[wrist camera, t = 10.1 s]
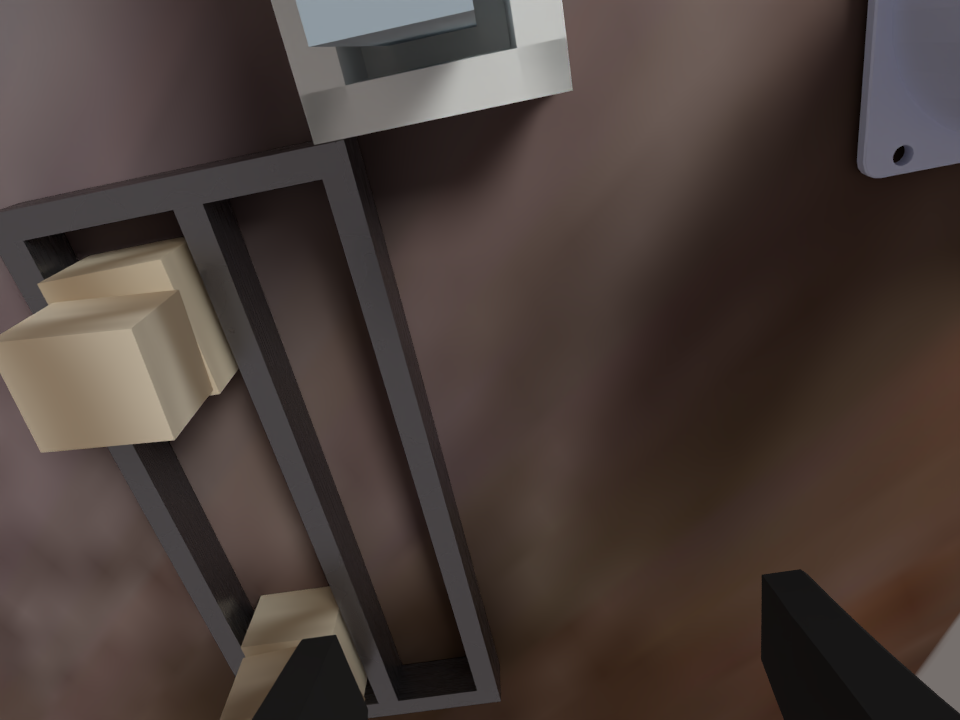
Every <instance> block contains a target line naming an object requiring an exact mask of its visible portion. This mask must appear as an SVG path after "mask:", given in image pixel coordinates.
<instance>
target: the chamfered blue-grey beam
mask: <svg viewBox="0 0 960 720" xmlns="http://www.w3.org/2000/svg"><path fill="white" fill-rule="evenodd" d="M296 4H297V7H298V11H299V14H300V18H301V21H302V25H303V28H304V32H305V35H306V39H307V42H308V46H309V47H346V46H391V45H395V44H400V43H404V42H408V41H413V40H417V39H422V38H426V37H431V36H435V35H440V34H444V33H449V32H453V31H458V30H462V29H467V28H471V27H476V26H477V24H476V18H475V12H474V6H473V0H296Z"/></svg>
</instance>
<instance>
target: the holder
mask: <svg viewBox="0 0 960 720" xmlns="http://www.w3.org/2000/svg"><path fill="white" fill-rule="evenodd" d="M271 3H272V7H273V10H274V13H275V16H276V20H277V23H278V26H279V30H280V33H281V36H282V40H283V43H284V46H285V50H286V53H287V56H288V60H289V63H290V66H291V70H292V73H293V76H294V80H295V83H296V86H297V90H298V93H299V96H300V99H301V103H302V106H303V109H304V113H305V116H306V119H307V123H308V126H309V129H310V133H311V136H312V139H313V143H314V145H316V144H321V143H326V142H331V141H335V140H340V139H345V138H350V137H354V136H359V135H364V134H368V133H373V132H378V131H383V130H387V129H392V128H397V127H402V126H406V125H411V124H416V123H421V122H425V121H430V120H435V119H440V118H444V117H449V116H454V115H459V114H463V113H468V112H473V111H478V110H482V109H487V108H492V107H497V106H501V105H506V104H511V103H515V102H520V101H525V100H530V99H534V98H539V97H544V96H549V95H553V94H558V93H563V92H568V91H572V90H573V89H572V80H571V72H570V64H569V55H568V47H567V39H566V30H565V22H564V14H563V5H562V0H473V6H474V12H475V18H476V24H477V26H476V27H471V28H467V29H462V30H458V31H453V32H449V33H444V34H440V35H435V36H431V37H426V38H422V39H417V40H413V41H408V42H404V43H400V44H395V45H391V46H346V47H309V46H308V42H307V39H306V35H305V32H304V28H303V25H302V21H301V18H300V14H299V11H298V7H297V4H296V0H271Z"/></svg>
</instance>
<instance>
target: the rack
mask: <svg viewBox="0 0 960 720" xmlns="http://www.w3.org/2000/svg"><path fill="white" fill-rule="evenodd" d="M321 179H322V180H323V183H324V186H325V190H326V193H327V196H328V199H329V203H330V206H331V209H332V213H333V216H334V219H335V223H336V226H337V229H338V233H339V236H340V239H341V242H342V246H343V249H344V252H345V256H346V259H347V262H348V266H349V269H350V272H351V275H352V279H353V282H354V285H355V289H356V292H357V295H358V299H359V302H360V305H361V309H362V312H363V315H364V318H365V322H366V325H367V328H368V332H369V335H370V338H371V342H372V345H373V348H374V351H375V355H376V358H377V361H378V365H379V368H380V371H381V375H382V378H383V381H384V385H385V388H386V391H387V394H388V398H389V401H390V404H391V408H392V411H393V414H394V418H395V421H396V424H397V427H398V431H399V434H400V437H401V441H402V444H403V447H404V451H405V454H406V457H407V461H408V464H409V467H410V470H411V474H412V477H413V480H414V484H415V487H416V490H417V494H418V497H419V500H420V503H421V507H422V510H423V513H424V517H425V520H426V523H427V527H428V530H429V533H430V537H431V540H432V543H433V546H434V550H435V553H436V556H437V560H438V563H439V566H440V570H441V573H442V576H443V579H444V583H445V586H446V589H447V593H448V596H449V599H450V603H451V606H452V609H453V613H454V616H455V619H456V622H457V626H458V629H459V632H460V636H461V639H462V642H463V646H464V649H465V652H466V655H467V657H461V658H454V659H446V660H439V661H432V662H424V663H417V664H409V665H402V663H401V660H400V657H399V655H398V652H397V649H396V647H395V644H394V641H393V639H392V636H391V633H390V631H389V628H388V625H387V623H386V620H385V617H384V614H383V612H382V609H381V606H380V604H379V601H378V598H377V596H376V593H375V590H374V588H373V585H372V582H371V580H370V577H369V574H368V572H367V569H366V566H365V564H364V561H363V558H362V556H361V553H360V550H359V548H358V545H357V542H356V540H355V537H354V534H353V532H352V529H351V526H350V524H349V521H348V518H347V516H346V513H345V510H344V507H343V505H342V502H341V499H340V497H339V494H338V491H337V489H336V486H335V483H334V481H333V478H332V475H331V473H330V470H329V467H328V465H327V462H326V459H325V457H324V454H323V451H322V449H321V446H320V443H319V441H318V438H317V435H316V433H315V430H314V427H313V425H312V422H311V419H310V417H309V414H308V411H307V409H306V406H305V403H304V400H303V398H302V395H301V392H300V390H299V387H298V384H297V382H296V379H295V376H294V374H293V371H292V368H291V366H290V363H289V360H288V358H287V355H286V352H285V350H284V347H283V344H282V342H281V339H280V336H279V334H278V331H277V328H276V326H275V323H274V320H273V318H272V315H271V312H270V310H269V307H268V304H267V302H266V299H265V296H264V293H263V291H262V288H261V285H260V283H259V280H258V277H257V275H256V272H255V269H254V267H253V264H252V261H251V259H250V256H249V253H248V251H247V248H246V245H245V243H244V240H243V237H242V235H241V232H240V229H239V227H238V224H237V221H236V219H235V216H234V213H233V211H232V208H231V205H230V203H229V200H228V199H229V198H234V197H239V196H243V195H248V194H253V193H258V192H263V191H268V190H273V189H277V188H282V187H287V186H292V185H297V184H302V183H307V182H311V181H316V180H321ZM170 210H173V211H174V213H175V216H176V218H177V220H178V223H179V225H180V228H181V230H182V232H183V235H184V237H185V240H186V242H187V244H188V247H189V249H190V252H191V254H192V256H193V259H194V261H195V264H196V266H197V268H198V271H199V273H200V276H201V278H202V280H203V283H204V285H205V288H206V290H207V292H208V295H209V297H210V300H211V302H212V304H213V307H214V309H215V312H216V314H217V317H218V319H219V321H220V324H221V326H222V329H223V331H224V333H225V336H226V338H227V341H228V343H229V345H230V348H231V350H232V353H233V355H234V357H235V360H236V362H237V365H238V367H239V369H240V372H241V374H242V377H243V379H244V381H245V384H246V386H247V389H248V391H249V393H250V396H251V398H252V401H253V403H254V405H255V408H256V410H257V413H258V415H259V417H260V420H261V422H262V425H263V427H264V429H265V432H266V434H267V437H268V439H269V441H270V444H271V446H272V449H273V451H274V453H275V456H276V458H277V461H278V463H279V465H280V468H281V470H282V473H283V475H284V477H285V480H286V482H287V485H288V487H289V490H290V492H291V494H292V497H293V499H294V502H295V504H296V506H297V509H298V511H299V514H300V516H301V518H302V521H303V523H304V526H305V528H306V530H307V533H308V535H309V538H310V540H311V542H312V545H313V547H314V550H315V552H316V554H317V557H318V559H319V562H320V564H321V566H322V569H323V571H324V574H325V576H326V578H327V581H328V583H329V586H330V588H331V590H332V593H333V595H334V598H335V600H336V602H337V605H338V607H339V610H340V612H341V614H342V617H343V619H344V622H345V624H346V626H347V629H348V631H349V634H350V636H351V638H352V641H353V643H354V646H355V648H356V650H357V653H358V655H359V658H360V660H361V663H362V665H363V667H364V670H365V672H366V675H367V682H366V687H365V693H364V697H365V703H366V706H367V708H368V718H374V717H381V716H389V715H397V714H405V713H413V712H421V711H428V710H436V709H444V708H452V707H460V706H468V705H475V704H483V703H491V702H499V701H501V689H500V665H499V661H498V657H497V654H496V650H495V646H494V642H493V639H492V635H491V631H490V628H489V624H488V620H487V617H486V613H485V609H484V606H483V602H482V598H481V594H480V591H479V587H478V583H477V580H476V576H475V572H474V569H473V565H472V561H471V557H470V554H469V550H468V546H467V543H466V539H465V535H464V532H463V528H462V524H461V521H460V517H459V513H458V509H457V506H456V502H455V498H454V495H453V491H452V487H451V484H450V480H449V476H448V472H447V469H446V465H445V461H444V458H443V454H442V450H441V447H440V443H439V439H438V435H437V432H436V428H435V424H434V421H433V417H432V413H431V410H430V406H429V402H428V399H427V395H426V391H425V387H424V384H423V380H422V376H421V373H420V369H419V365H418V362H417V358H416V354H415V350H414V347H413V343H412V339H411V336H410V332H409V328H408V325H407V321H406V317H405V314H404V310H403V306H402V302H401V299H400V295H399V291H398V288H397V284H396V280H395V277H394V273H393V269H392V265H391V262H390V258H389V254H388V251H387V247H386V243H385V240H384V236H383V232H382V228H381V225H380V221H379V217H378V214H377V210H376V206H375V203H374V199H373V195H372V192H371V188H370V184H369V180H368V177H367V173H366V169H365V166H364V162H363V158H362V155H361V151H360V147H359V143H358V140H357V136H354V137H350V138H345V139H340V140H335V141H331V142H326V143H321V144H316V145H314V143H313V141H310V142H305V143H301V144H296V145H291V146H286V147H282V148H277V149H272V150H268V151H263V152H258V153H253V154H249V155H244V156H239V157H234V158H230V159H225V160H220V161H215V162H211V163H206V164H201V165H197V166H192V167H187V168H182V169H178V170H173V171H168V172H163V173H159V174H154V175H149V176H145V177H140V178H135V179H130V180H126V181H121V182H116V183H111V184H107V185H102V186H97V187H93V188H88V189H83V190H78V191H74V192H69V193H64V194H59V195H55V196H50V197H45V198H41V199H36V200H31V201H26V202H22V203H18V204H15V205H12V206H9V207H6V208H3V209H0V256H1V258H2V259H3V261H4V263H5V265H6V266H7V268H8V270H9V272H10V274H11V275H12V277H13V279H14V281H15V283H16V284H17V286H18V288H19V290H20V292H21V293H22V295H23V297H24V299H25V301H26V302H27V304H28V306H29V308H30V309H31V311H32V313H33V314H35V313H37V312H38V311H40V310H42V309H43V308H45V307H46V306H48V303H47V301H46V300H45V298H44V296H43V294H42V292H41V290H40V289H39V287H38V285H37V284H38V283H40V282H41V281H43V280H45V279H47V278H49V277H51V276H53V275H54V274H56V273H58V272H60V271H62V270H64V269H65V268H67V267H69V266H71V265H73V264H75V263H77V262H78V261H77V259H76V257H75V255H74V253H73V251H72V249H71V247H70V245H69V243H68V241H67V239H66V237H65V235H64V232H68V231H73V230H78V229H83V228H88V227H93V226H98V225H102V224H107V223H112V222H117V221H122V220H127V219H132V218H136V217H141V216H146V215H151V214H156V213H161V212H166V211H170ZM107 447H108V449H109V451H110V453H111V455H112V456H113V458H114V460H115V462H116V464H117V465H118V467H119V469H120V471H121V473H122V474H123V476H124V478H125V480H126V481H127V483H128V485H129V487H130V489H131V490H132V492H133V494H134V496H135V498H136V499H137V501H138V503H139V505H140V507H141V508H142V510H143V512H144V514H145V516H146V517H147V519H148V521H149V523H150V524H151V526H152V528H153V530H154V532H155V533H156V535H157V537H158V539H159V541H160V542H161V544H162V546H163V548H164V550H165V551H166V553H167V555H168V557H169V558H170V560H171V562H172V564H173V566H174V567H175V569H176V571H177V573H178V575H179V576H180V578H181V580H182V582H183V584H184V585H185V587H186V589H187V591H188V593H189V594H190V596H191V598H192V600H193V601H194V603H195V605H196V607H197V609H198V610H199V612H200V614H201V616H202V618H203V619H204V621H205V623H206V625H207V627H208V628H209V630H210V632H211V634H212V636H213V637H214V639H215V641H216V643H217V644H218V646H219V648H220V650H221V652H222V653H223V655H224V657H225V659H226V661H227V662H228V664H229V666H230V668H231V670H232V671H233V673H234V675H235V677H236V675H237V672H238V670H239V667H240V665H241V662H242V659H243V658H245V655H244V653H243V651H242V649H241V645H242V643H243V640H244V638H245V635H246V633H247V630H248V628H249V625H250V622H251V620H252V617H253V615H254V611H253V609H252V607H251V605H250V603H249V601H248V599H247V597H246V595H245V593H244V591H243V589H242V587H241V585H240V583H239V581H238V579H237V577H236V575H235V573H234V571H233V569H232V567H231V565H230V563H229V561H228V559H227V557H226V555H225V553H224V551H223V549H222V547H221V545H220V543H219V541H218V539H217V537H216V535H215V533H214V531H213V529H212V527H211V525H210V523H209V521H208V519H207V517H206V515H205V513H204V511H203V509H202V507H201V505H200V503H199V501H198V499H197V497H196V495H195V493H194V491H193V489H192V487H191V485H190V483H189V481H188V479H187V477H186V475H185V473H184V471H183V469H182V467H181V465H180V463H179V462H178V460H177V458H176V456H175V454H174V452H173V450H172V448H171V446H170V444H169V442H168V441H161V442H150V443H139V444H129V445H118V446H107Z"/></svg>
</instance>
